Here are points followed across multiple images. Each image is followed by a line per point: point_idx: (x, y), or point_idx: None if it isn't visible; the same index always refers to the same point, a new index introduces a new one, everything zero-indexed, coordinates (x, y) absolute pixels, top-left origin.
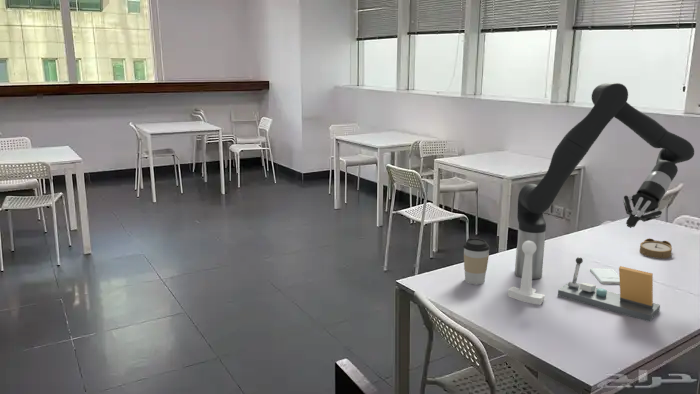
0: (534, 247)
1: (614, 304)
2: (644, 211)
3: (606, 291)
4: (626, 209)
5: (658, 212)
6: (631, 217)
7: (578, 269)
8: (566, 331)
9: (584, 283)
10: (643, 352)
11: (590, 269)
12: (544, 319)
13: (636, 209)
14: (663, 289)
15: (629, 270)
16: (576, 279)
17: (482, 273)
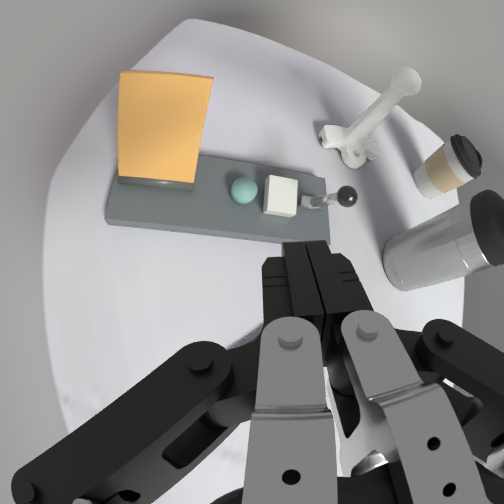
0: (397, 68)
1: (201, 160)
2: (251, 432)
3: (232, 185)
4: (449, 392)
5: (42, 485)
6: (343, 284)
7: (329, 195)
8: (245, 73)
9: (292, 197)
10: (138, 67)
11: (326, 396)
12: (286, 92)
13: (387, 394)
14: (123, 390)
15: (183, 73)
16: (315, 198)
17: (424, 166)
